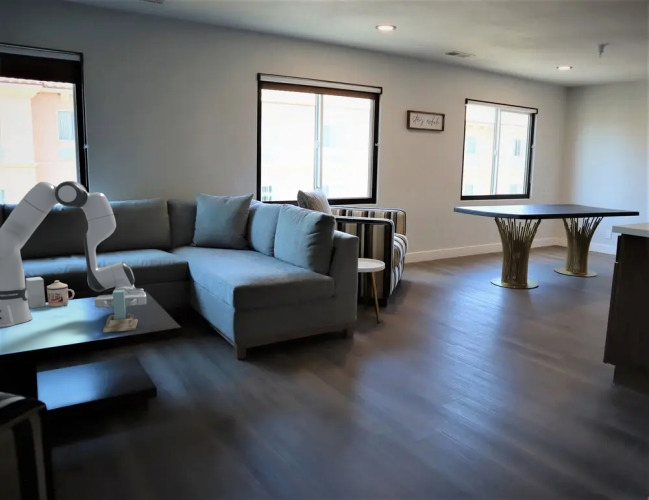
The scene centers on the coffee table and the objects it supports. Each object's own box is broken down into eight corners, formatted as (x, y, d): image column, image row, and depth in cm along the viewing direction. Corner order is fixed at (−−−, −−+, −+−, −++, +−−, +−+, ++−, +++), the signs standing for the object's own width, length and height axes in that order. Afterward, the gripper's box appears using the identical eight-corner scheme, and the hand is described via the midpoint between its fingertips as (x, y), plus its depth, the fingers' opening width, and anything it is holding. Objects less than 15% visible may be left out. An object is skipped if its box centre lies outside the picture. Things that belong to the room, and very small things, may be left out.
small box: (46, 306, 240) (43, 279, 238) (30, 308, 236) (28, 281, 234) (42, 302, 246) (40, 276, 244) (27, 304, 242) (25, 278, 240)
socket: (103, 332, 202) (102, 322, 201) (107, 323, 213) (106, 314, 212) (135, 329, 205) (134, 320, 204) (137, 321, 216) (137, 312, 216)
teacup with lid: (44, 307, 238) (42, 282, 236) (52, 302, 247) (50, 278, 245) (71, 306, 239) (69, 282, 238) (78, 301, 248) (76, 278, 247)
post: (115, 326, 206) (112, 292, 204) (116, 323, 210) (114, 290, 208) (125, 325, 207) (123, 291, 205) (126, 322, 211) (124, 289, 209)
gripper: (96, 291, 216) (91, 298, 203) (147, 288, 222) (145, 295, 209) (97, 305, 217) (92, 314, 204) (147, 302, 223) (145, 310, 210)
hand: (119, 304), depth 207 cm, fingers open, 8 cm apart
